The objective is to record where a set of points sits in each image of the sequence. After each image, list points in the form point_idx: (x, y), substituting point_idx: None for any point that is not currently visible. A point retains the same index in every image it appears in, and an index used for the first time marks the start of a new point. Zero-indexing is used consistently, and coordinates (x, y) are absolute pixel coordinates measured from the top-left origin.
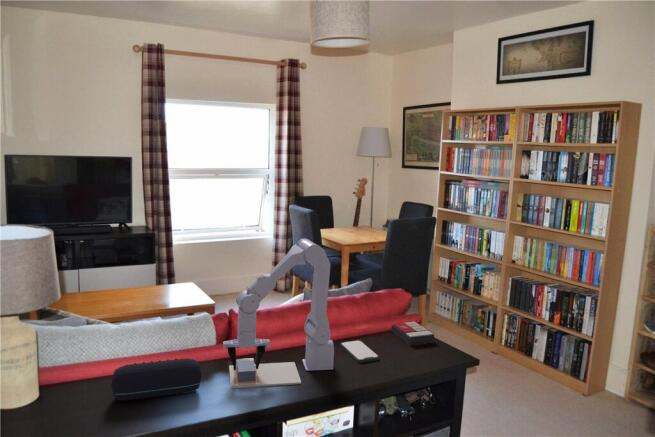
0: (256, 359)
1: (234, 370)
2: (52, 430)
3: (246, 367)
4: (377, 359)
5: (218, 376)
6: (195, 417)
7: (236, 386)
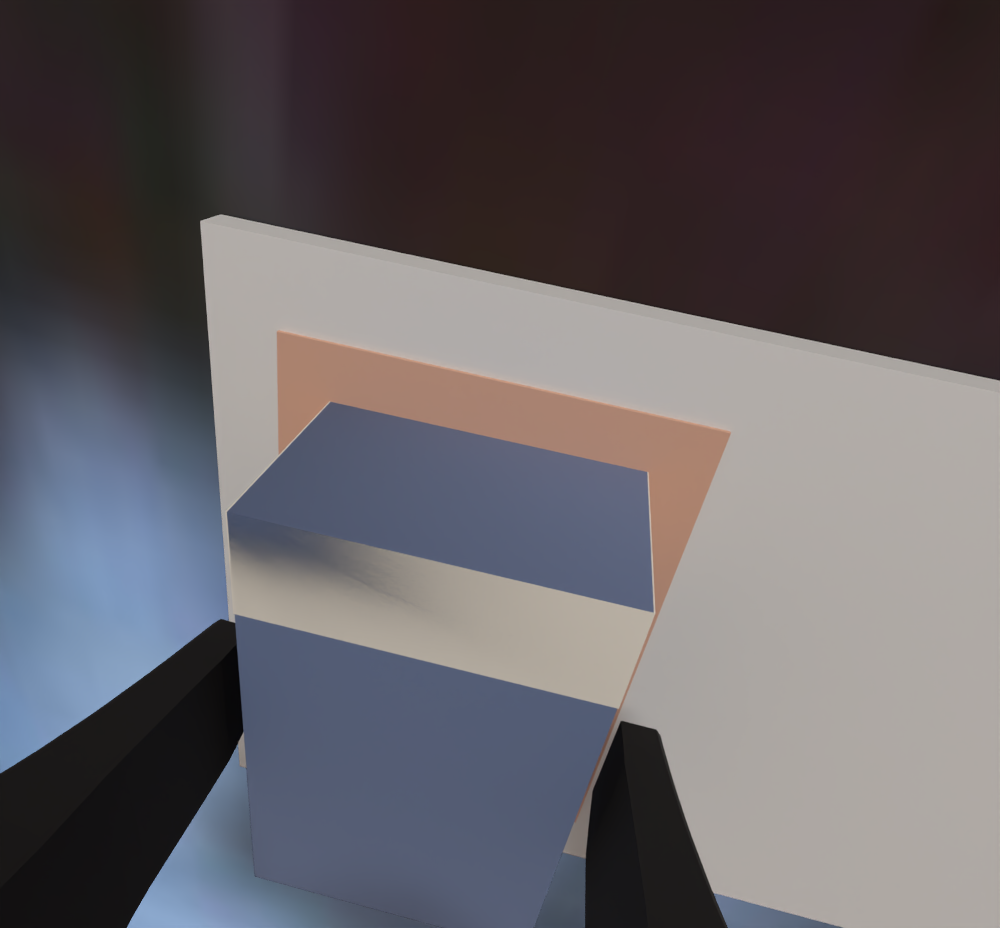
0: (615, 925)
1: None
2: None
3: (400, 837)
4: None
5: (78, 468)
6: None
7: None
